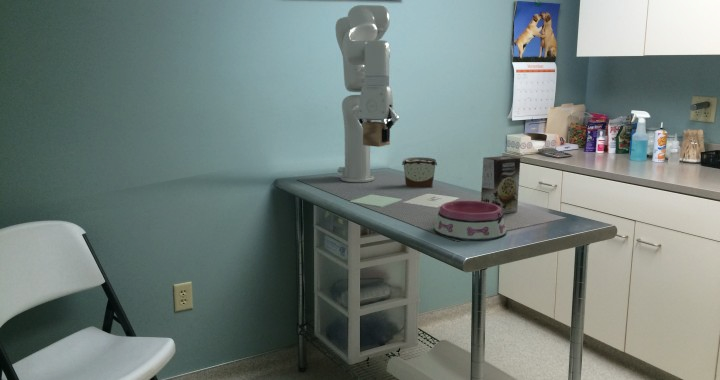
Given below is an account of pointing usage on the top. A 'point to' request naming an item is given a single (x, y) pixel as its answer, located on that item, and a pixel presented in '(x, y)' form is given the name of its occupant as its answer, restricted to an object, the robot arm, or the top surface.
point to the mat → (376, 200)
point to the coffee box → (501, 182)
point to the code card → (431, 200)
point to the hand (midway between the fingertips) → (376, 140)
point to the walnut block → (373, 134)
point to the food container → (419, 171)
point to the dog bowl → (470, 221)
